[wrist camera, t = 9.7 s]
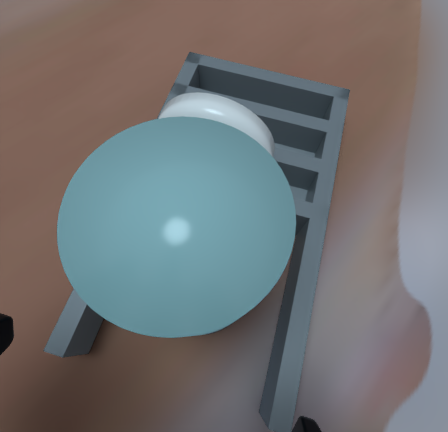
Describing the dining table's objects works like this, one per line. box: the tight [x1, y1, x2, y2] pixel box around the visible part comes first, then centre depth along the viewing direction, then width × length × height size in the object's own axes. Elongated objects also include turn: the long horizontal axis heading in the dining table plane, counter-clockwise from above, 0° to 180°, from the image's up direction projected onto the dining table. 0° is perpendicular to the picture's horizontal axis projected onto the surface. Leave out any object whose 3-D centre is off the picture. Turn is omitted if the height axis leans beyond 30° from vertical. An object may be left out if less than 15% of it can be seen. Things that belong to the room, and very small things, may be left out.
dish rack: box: [43, 52, 350, 432], centre depth 18 cm, size 21×12×3 cm, turn 163°
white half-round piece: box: [158, 92, 275, 157], centre depth 17 cm, size 1×7×7 cm, turn 73°
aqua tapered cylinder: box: [57, 116, 296, 338], centre depth 12 cm, size 6×6×12 cm
